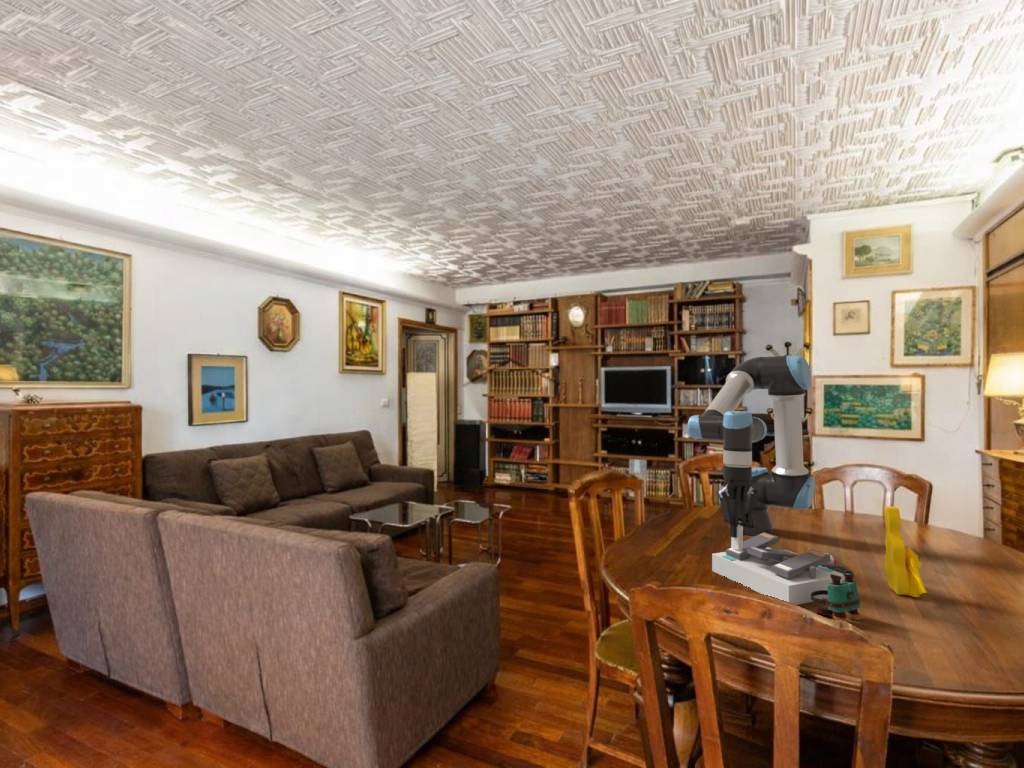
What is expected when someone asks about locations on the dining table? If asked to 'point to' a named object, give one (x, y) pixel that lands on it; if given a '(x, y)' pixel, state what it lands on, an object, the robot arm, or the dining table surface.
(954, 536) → the dining table surface
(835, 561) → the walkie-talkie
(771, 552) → the switch
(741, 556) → the switch
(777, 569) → the switch
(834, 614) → the binoculars
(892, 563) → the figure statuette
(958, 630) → the dining table surface
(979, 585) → the dining table surface
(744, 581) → the console
